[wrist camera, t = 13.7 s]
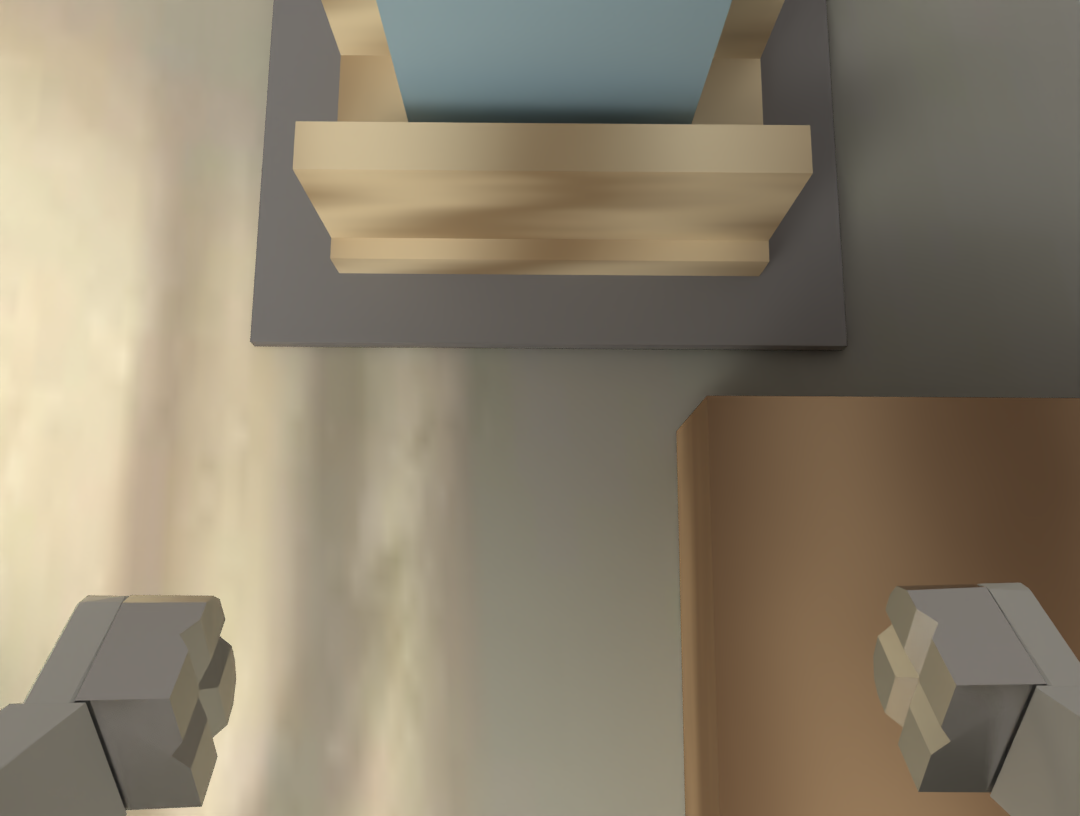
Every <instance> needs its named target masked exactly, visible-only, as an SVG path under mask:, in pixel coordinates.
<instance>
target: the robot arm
mask: <svg viewBox="0 0 1080 816" xmlns="http://www.w3.org/2000/svg"><path fill="white" fill-rule="evenodd" d="M885 610H886V612H887V614H888V616H889V619H890V621H891V623H892V625H890V626H889V627H888V628H887V629H886V630H885V631H883V632H882V633H881V634H880V635H879V636H878V638H877V642H876V646H875V651H874V655H873V666H874V681H875V685H876V690H877V694H878V697H879V699H880V702H881V705H882V707H883V710H884V712H885V713H886V714H887V715H888V716H889V717H891V718H892V719H893V720H894V721H896V722H897V723H898V724H899V725H901V726H902V727H903V729H902V732H901V735H900V738H899V742H898V746H899V748H900V750H901V753H902V755H903V757H904V760H905V762H906V764H907V767H908V769H909V771H910V774H911V776H912V778H913V781H914V783H915V785H916V788H917V790H918V792H989V793H991V794H990V797H991V798H992V799H994V800H995V801H996V802H997V803H998V804H999V805H1000V806H1001V807H1002V808H1003V809H1004V810H1005V811H1006V812H1007V813H1008V814H1009V815H1010V816H1080V662H1079V661H1078V659H1077V658H1076V656H1075V655H1074V653H1073V652H1072V650H1071V649H1070V647H1069V646H1068V644H1067V643H1066V641H1065V640H1064V639H1063V637H1062V636H1061V634H1060V633H1059V631H1058V630H1057V628H1056V627H1055V625H1054V624H1053V622H1052V621H1051V619H1050V618H1049V617H1048V615H1047V614H1046V612H1045V611H1044V609H1043V608H1042V606H1041V605H1040V603H1039V602H1038V600H1037V599H1036V598H1035V596H1034V595H1033V593H1032V592H1031V590H1030V589H1029V588H1028V587H1026V586H1025V585H1023V584H1022V583H985V584H978V585H975V584H956V585H913V586H896V587H895V588H894V590H893V591H892V592H891V593H890V596H889V599H888V602H887V606H886V609H885ZM224 622H225V616H224V613H223V609H222V606H221V602H220V599H218V598H216V597H214V596H180V595H130V596H95V595H88V596H87V597H86V598H84V599H83V600H82V601H80V602H79V603H78V604H77V606H76V607H75V609H74V611H73V613H72V615H71V616H70V618H69V620H68V622H67V624H66V626H65V627H64V629H63V631H62V633H61V635H60V637H59V638H58V640H57V642H56V644H55V646H54V647H53V649H52V651H51V653H50V655H49V657H48V658H47V660H46V662H45V664H44V666H43V668H42V669H41V671H40V673H39V675H38V677H37V678H36V680H35V682H34V684H33V686H32V688H31V689H30V691H29V693H28V695H27V697H26V698H25V700H24V702H23V703H21V704H9V705H7V706H6V707H5V708H3V709H2V710H0V816H126V815H127V813H126V810H139V809H160V808H181V807H202V804H203V801H204V798H205V795H206V791H207V788H208V785H209V782H210V779H211V776H212V772H213V769H214V766H215V763H216V760H217V753H216V749H215V746H214V742H213V737H214V736H215V735H216V734H217V733H218V732H220V731H221V730H222V729H223V728H224V727H225V726H226V725H227V724H228V720H229V717H230V713H231V710H232V706H233V701H234V693H235V684H236V671H235V659H234V655H233V650H232V646H231V645H230V644H229V643H227V642H226V641H225V640H224V639H222V638H221V637H220V633H221V630H222V627H223V624H224Z"/></svg>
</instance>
